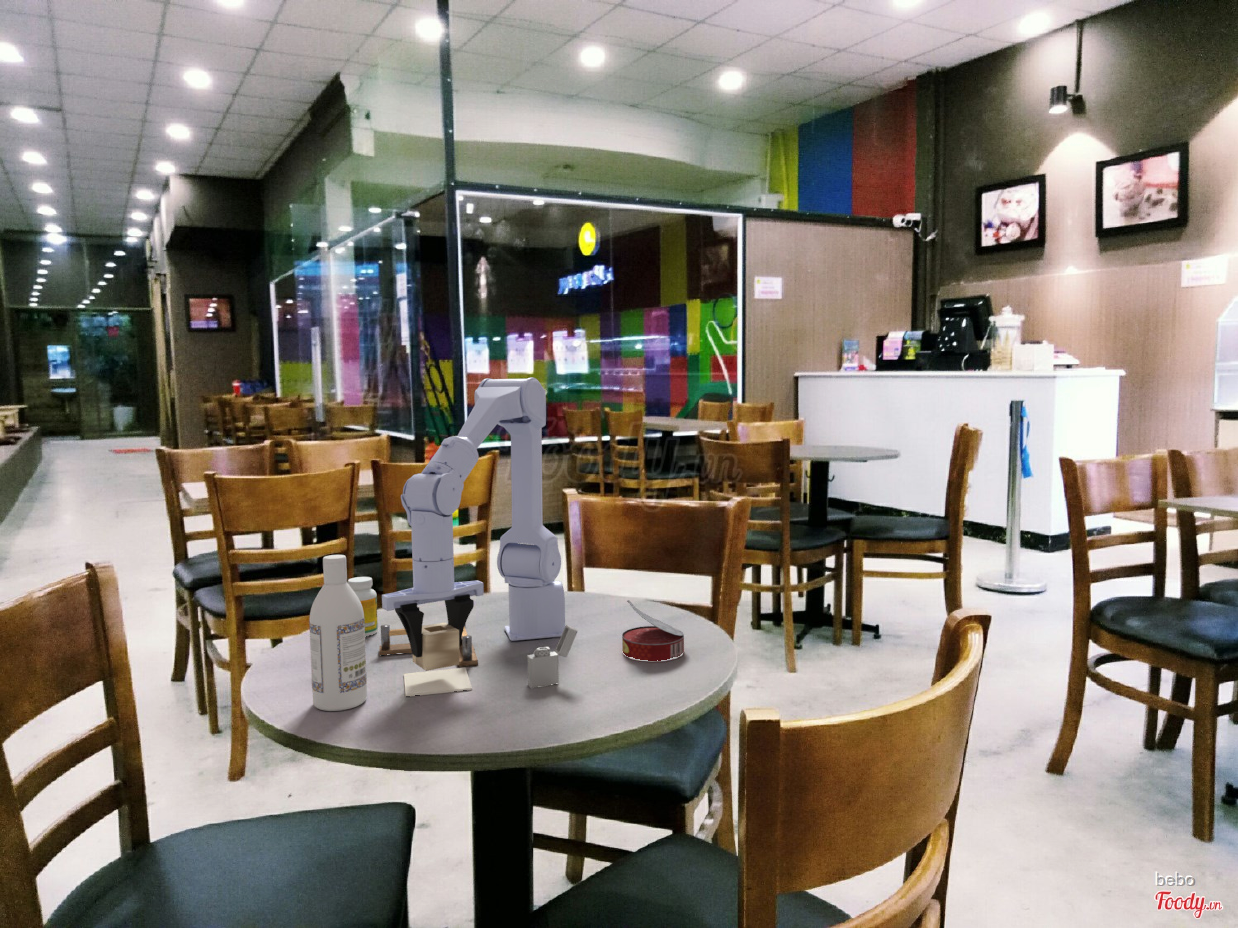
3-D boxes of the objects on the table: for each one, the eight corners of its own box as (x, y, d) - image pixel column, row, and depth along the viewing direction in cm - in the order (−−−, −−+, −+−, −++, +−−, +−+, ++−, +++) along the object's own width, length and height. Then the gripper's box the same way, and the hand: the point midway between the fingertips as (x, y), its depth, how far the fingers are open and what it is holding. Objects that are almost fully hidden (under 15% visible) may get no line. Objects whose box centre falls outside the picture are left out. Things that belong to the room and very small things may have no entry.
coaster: (465, 669, 125) (465, 667, 125) (471, 690, 117) (471, 687, 117) (403, 675, 123) (403, 673, 123) (405, 697, 114) (405, 694, 114)
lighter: (531, 688, 117) (530, 632, 116) (527, 684, 119) (526, 629, 118) (578, 681, 120) (577, 626, 119) (574, 677, 122) (573, 623, 121)
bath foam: (373, 693, 116) (368, 551, 114) (357, 712, 109) (352, 561, 107) (324, 693, 116) (318, 551, 114) (305, 712, 109) (298, 562, 107)
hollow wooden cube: (445, 655, 123) (444, 622, 123) (459, 664, 119) (459, 630, 119) (412, 661, 120) (412, 627, 120) (426, 671, 116) (425, 635, 116)
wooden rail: (470, 642, 139) (469, 616, 138) (478, 665, 127) (477, 637, 127) (379, 650, 135) (378, 624, 135) (379, 675, 123) (378, 646, 123)
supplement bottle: (340, 633, 145) (338, 578, 144) (370, 627, 148) (368, 574, 148) (352, 640, 141) (350, 584, 140) (383, 634, 144) (381, 579, 143)
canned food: (636, 671, 138) (643, 612, 141) (692, 674, 133) (697, 612, 137) (603, 658, 129) (611, 594, 132) (662, 660, 124) (669, 594, 128)
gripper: (468, 547, 126) (470, 636, 127) (373, 559, 117) (376, 654, 119) (489, 555, 120) (491, 647, 121) (391, 568, 112) (394, 667, 113)
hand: (435, 651), depth 119 cm, fingers closed on hollow wooden cube, 5 cm apart
